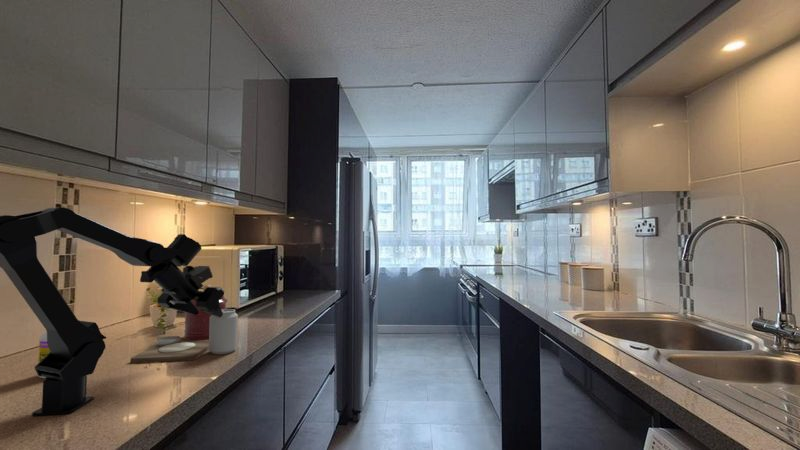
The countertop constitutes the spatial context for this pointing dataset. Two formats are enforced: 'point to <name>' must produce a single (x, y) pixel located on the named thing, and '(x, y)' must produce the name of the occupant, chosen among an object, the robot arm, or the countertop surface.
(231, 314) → the can
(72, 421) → the countertop surface
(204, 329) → the canister
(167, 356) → the board
